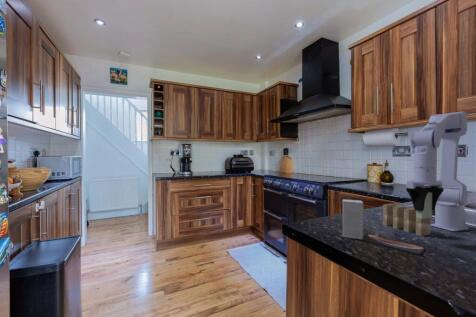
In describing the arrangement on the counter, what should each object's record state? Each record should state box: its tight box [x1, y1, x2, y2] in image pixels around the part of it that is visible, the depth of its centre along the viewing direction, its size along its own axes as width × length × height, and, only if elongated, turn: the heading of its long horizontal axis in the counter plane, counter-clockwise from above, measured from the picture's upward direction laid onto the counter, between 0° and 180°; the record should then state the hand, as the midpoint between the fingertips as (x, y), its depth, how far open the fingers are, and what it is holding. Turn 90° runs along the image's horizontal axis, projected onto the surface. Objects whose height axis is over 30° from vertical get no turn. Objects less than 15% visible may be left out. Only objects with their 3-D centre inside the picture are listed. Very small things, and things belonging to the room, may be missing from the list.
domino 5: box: [415, 218, 431, 237], centre depth 77 cm, size 2×5×8 cm, turn 110°
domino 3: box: [403, 207, 416, 233], centre depth 81 cm, size 2×5×8 cm, turn 110°
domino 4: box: [416, 192, 433, 219], centre depth 72 cm, size 2×5×8 cm, turn 110°
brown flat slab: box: [361, 234, 426, 256], centre depth 68 cm, size 8×1×15 cm
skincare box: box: [342, 199, 364, 240], centre depth 74 cm, size 6×4×12 cm
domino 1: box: [382, 203, 397, 227], centre depth 89 cm, size 2×5×8 cm, turn 110°
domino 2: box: [392, 205, 407, 230], centre depth 85 cm, size 2×5×8 cm, turn 110°
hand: (424, 209), depth 72 cm, fingers closed on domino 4, 5 cm apart
